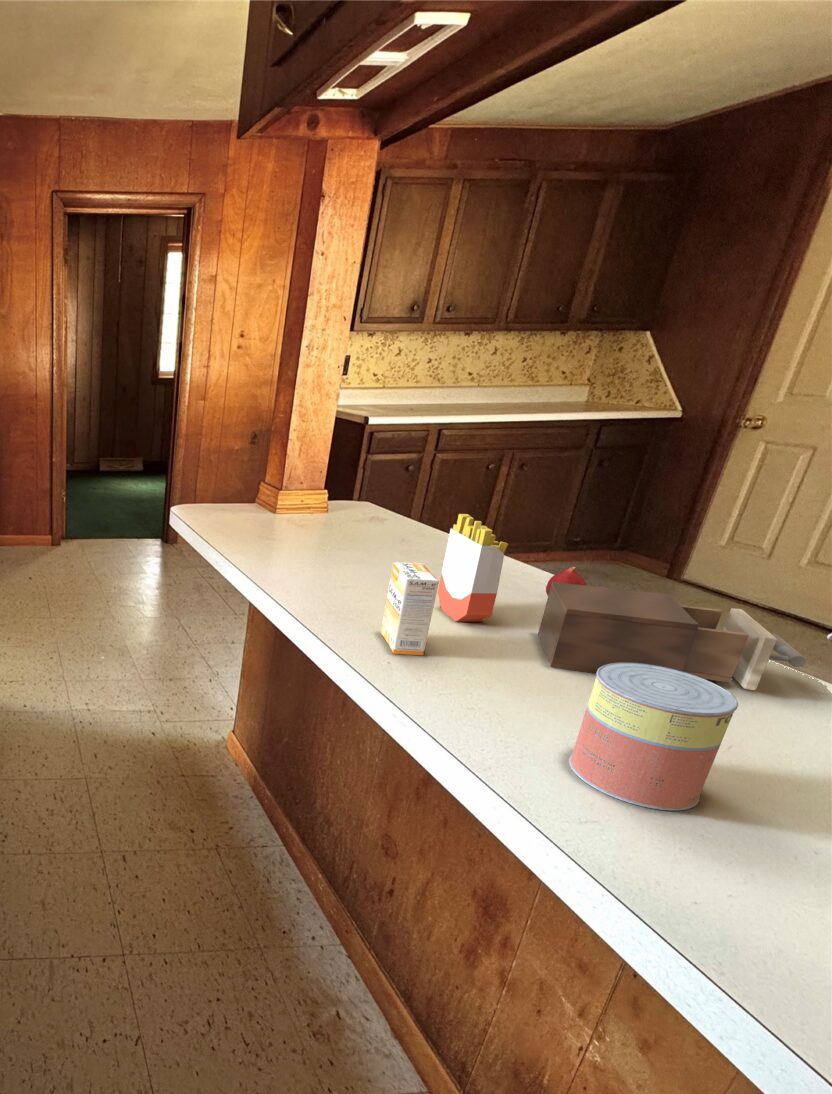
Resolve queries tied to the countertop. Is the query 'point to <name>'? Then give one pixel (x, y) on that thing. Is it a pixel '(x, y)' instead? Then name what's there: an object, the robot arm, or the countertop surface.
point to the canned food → (651, 734)
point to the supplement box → (409, 608)
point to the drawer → (734, 648)
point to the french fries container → (470, 571)
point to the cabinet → (613, 628)
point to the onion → (566, 578)
